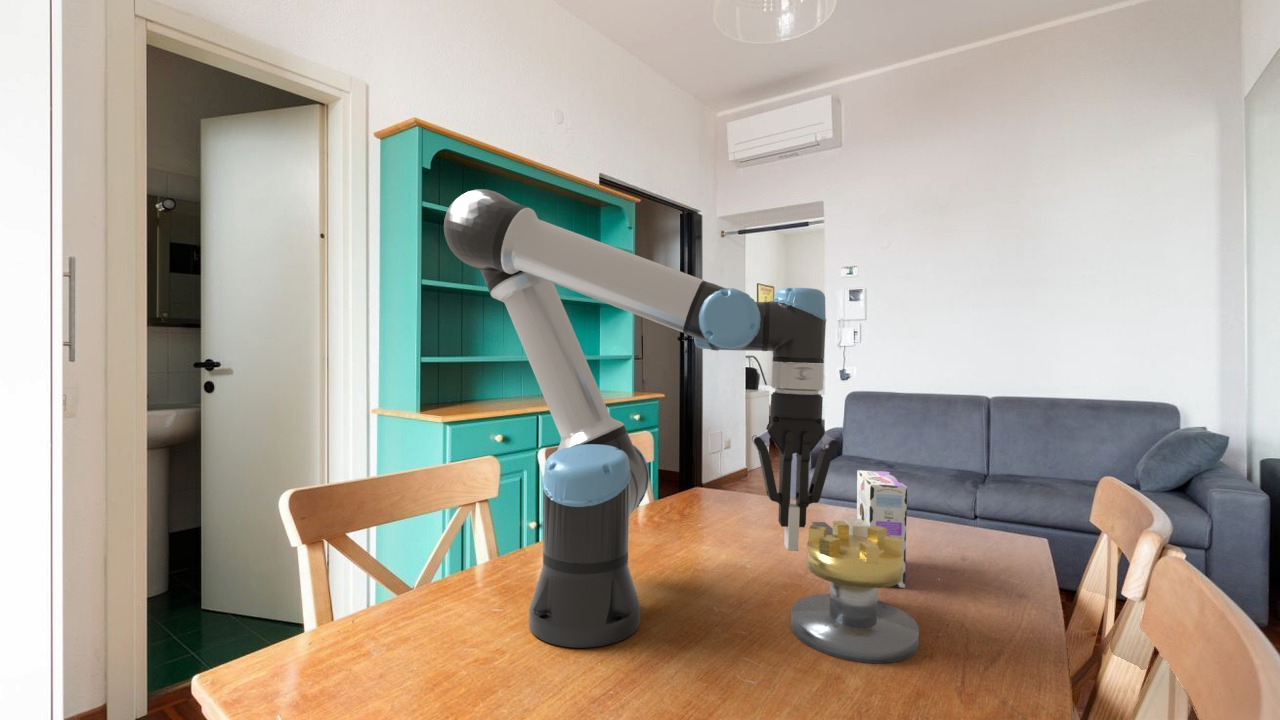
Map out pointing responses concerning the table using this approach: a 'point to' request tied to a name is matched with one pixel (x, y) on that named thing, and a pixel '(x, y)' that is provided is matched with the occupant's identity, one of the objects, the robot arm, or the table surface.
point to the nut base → (855, 639)
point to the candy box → (883, 505)
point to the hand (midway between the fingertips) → (791, 547)
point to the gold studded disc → (854, 556)
